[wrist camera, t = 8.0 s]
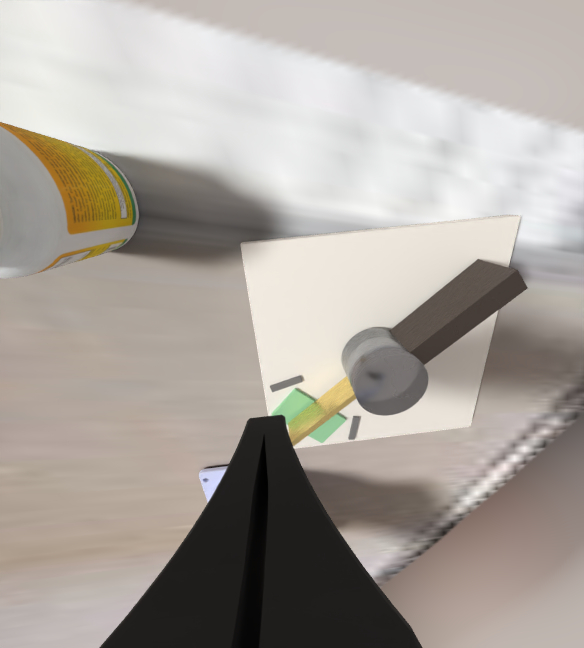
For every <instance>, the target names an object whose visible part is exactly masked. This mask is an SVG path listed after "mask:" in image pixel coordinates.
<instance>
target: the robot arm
mask: <svg viewBox="0 0 584 648" xmlns="http://www.w3.org/2000/svg"><path fill="white" fill-rule="evenodd" d="M199 478H200V481H201V484H202V487H203V490H204V493H205V495H206V498H207V501H208V504H207V505H206V507H205V509H204V510H203V512H202V514H201V515H200V517H199V518H198V520H197V521H196V523H195V525H194V526H193V528H192V529H191V531H190V532H189V534H188V535H187V537H186V538H185V539H184V541H183V542H182V544H181V545H180V547H179V548H178V550H177V551H176V552H175V554H174V555H173V557H172V558H171V559H170V561H169V562H168V564H167V565H166V566H165V568H164V569H163V570H162V572H161V573H160V574H159V575H158V577H157V578H156V579H155V581H154V582H153V583H152V584H151V586H150V587H149V588H148V590H147V591H146V592H145V593H144V595H143V596H142V597H141V599H140V600H139V601H138V602H137V604H136V605H135V606H134V607H133V609H132V610H131V611H130V612H129V614H128V615H127V616H126V617H125V619H124V620H123V621H122V622H121V623H120V624H119V626H118V627H117V628H116V629H115V630H114V631H113V633H112V634H111V635H110V636H109V637H108V638H107V640H106V641H105V642H104V643H103V644H102V645H101V647H100V648H422V646H421V644H420V643H419V641H418V639H417V637H416V635H415V634H414V632H413V630H412V628H411V627H410V625H409V624H408V623H407V621H406V620H405V619H404V618H403V616H402V615H401V614H400V613H399V612H398V610H397V609H396V608H395V607H394V606H393V605H392V603H391V602H390V600H389V599H388V598H387V597H386V595H385V594H384V593H383V592H382V590H381V589H380V588H379V587H378V585H377V584H376V583H375V581H374V580H373V579H372V577H371V576H370V575H369V573H368V572H367V571H366V569H365V568H364V567H363V565H362V564H361V563H360V561H359V560H358V558H357V557H356V555H355V554H354V553H353V551H352V550H351V548H350V547H349V545H348V544H347V543H346V541H345V540H344V538H343V537H342V535H341V534H340V532H339V531H338V529H337V528H336V526H335V525H334V523H333V522H332V520H331V518H330V517H329V515H328V514H327V512H326V510H325V509H324V507H323V505H322V504H321V502H320V500H319V499H318V497H317V495H316V493H315V491H314V490H313V488H312V486H311V484H310V482H309V480H308V478H307V476H306V474H305V472H304V470H303V468H302V466H301V464H300V462H299V459H298V457H297V455H296V452H295V450H294V448H293V445H292V442H291V439H290V436H289V433H288V430H287V426H286V419H285V416H283V415H274V416H266V417H258V418H250V419H249V420H248V421H247V424H246V427H245V429H244V432H243V434H242V437H241V439H240V442H239V444H238V446H237V449H236V451H235V453H234V455H233V457H232V459H231V461H230V463H229V465H228V466H224V467H216V468H208V469H203V470H201V471H200V473H199Z"/></svg>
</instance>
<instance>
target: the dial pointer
mask: <svg viewBox="0 0 584 648" xmlns="http://www.w3.org/2000/svg"><path fill="white" fill-rule="evenodd" d="M526 289H527V286H526V284H525V283H524V281H523V279H522V277H521V276H520V274H519V272H518V271H517V270H515V269H512V268H508V267H505V266H501V265H497V264H494V263H490V262H487V261H483V260H479V259H477V260H476V261H475V262H474V263H472V264H471V265H470V266H469V267H467V268H466V269H465V270H464V271H463V272H461V273H460V274H459V275H458V276H456V277H455V278H454V279H453V280H451V281H450V282H449V283H448V284H446V285H445V286H444V287H443V288H442V289H440V290H439V291H438V292H437V293H435V294H434V295H433V296H432V297H430V298H429V299H428V300H427V301H425V302H424V303H423V304H422V305H421V306H419V307H418V308H417V309H416V310H414V311H413V312H412V313H411V314H409V315H408V316H407V317H406V318H405V319H403V320H402V321H401V322H400V323H398V324H397V325H396V326H395V327H393V328H392V329H391V330H390V331H389V330H387V329H383V328H370V329H366V330H363V331H361V332H359V333H357V334H356V335H354V336H353V337H352V338H351V339H350V340H349V341H348V342H347V343H346V345H345V347H344V349H343V351H342V356H341V362H342V366H343V369H344V371H345V373H346V375H347V376H346V377H345V378H344V379H342V380H341V381H340V382H339V383H337V384H336V385H335V386H334V387H332V388H331V389H330V390H329V391H327V392H326V393H325V394H324V395H322V396H321V397H320V398H319V399H317V400H316V401H315V402H314V403H312V404H311V405H310V406H309V407H307V408H306V409H305V410H303V411H302V412H301V413H300V414H298V415H297V416H296V417H295V418H293V419H292V420H291V421H290V422H288V428H289V436H290V439H291V442H292V445H293V446H295V445H296V444H297V443H299V442H300V441H301V440H303V439H304V438H305V437H307V436H308V435H309V434H311V433H312V432H313V431H314V430H316V429H317V428H318V427H320V426H321V425H322V424H324V423H325V422H326V421H328V420H329V419H330V418H331V417H333V416H334V415H335V414H337V413H338V412H339V411H341V410H342V409H343V408H345V407H346V406H347V405H348V404H350V403H351V402H352V401H354V400H355V399H356V398H357V401H358V403H359V404H360V406H361V407H362V408H363V409H365V410H366V411H368V412H370V413H372V414H375V415H381V416H388V415H394V414H398V413H401V412H404V411H406V410H408V409H409V408H411V407H412V406H414V405H415V404H416V403H417V402H418V401H419V400H420V399H421V398H422V396H423V395H424V393H425V391H426V389H427V386H428V380H429V377H428V372H427V370H426V368H425V366H424V365H425V364H426V363H428V362H429V361H430V360H432V359H433V358H434V357H436V356H437V355H439V354H440V353H441V352H443V351H444V350H445V349H447V348H448V347H449V346H451V345H452V344H453V343H455V342H456V341H457V340H459V339H460V338H461V337H463V336H464V335H465V334H467V333H468V332H469V331H471V330H472V329H473V328H475V327H476V326H477V325H479V324H480V323H481V322H483V321H484V320H486V319H487V318H488V317H490V316H491V315H492V314H494V313H495V312H496V311H498V310H499V309H500V308H502V307H503V306H504V305H506V304H507V303H508V302H510V301H511V300H512V299H514V298H515V297H516V296H518V295H519V294H520V293H522V292H523V291H524V290H526Z"/></svg>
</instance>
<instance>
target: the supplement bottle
mask: <svg viewBox="0 0 584 648" xmlns="http://www.w3.org/2000/svg"><path fill="white" fill-rule="evenodd" d="M138 219H139V211H138V204H137V200H136V197H135V194H134V191H133V189H132V187H131V185H130V183H129V181H128V180H127V178H126V177H125V175H124V174H123V173H122V172H121V170H120V169H119V168H118V167H117V166H116V165H114V164H113V163H112V162H111V161H110V160H108V159H107V158H105V157H104V156H102V155H100V154H99V153H97V152H95V151H92V150H90V149H87V148H84V147H81V146H77V145H74V144H71V143H68V142H65V141H61V140H58V139H55V138H51V137H48V136H45V135H41V134H38V133H35V132H31V131H28V130H25V129H22V128H18V127H15V126H12V125H8V124H5V123H2V122H0V278H17V277H24V276H28V275H32V274H36V273H39V272H43V271H46V270H49V269H53V268H56V267H60V266H63V265H67V264H70V263H73V262H77V261H80V260H84V259H87V258H90V257H94V256H98V255H101V254H104V253H107V252H110V251H113V250H116V249H118V248H120V247H122V246H123V245H125V244H126V243H127V242H128V241H129V240H130V239H131V237H132V236H133V235H134V233H135V231H136V228H137V225H138Z"/></svg>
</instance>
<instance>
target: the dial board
mask: <svg viewBox="0 0 584 648" xmlns="http://www.w3.org/2000/svg"><path fill="white" fill-rule="evenodd" d="M520 218H521V216H518V215H502V216H493V217H483V218H473V219H463V220H454V221H444V222H434V223H425V224H415V225H405V226H395V227H386V228H376V229H366V230H356V231H347V232H337V233H327V234H318V235H308V236H298V237H288V238H279V239H269V240H259V241H250V242H242V243H241V244H240V246H241V252H242V258H243V264H244V270H245V276H246V282H247V288H248V295H249V301H250V307H251V313H252V319H253V325H254V331H255V337H256V344H257V350H258V356H259V362H260V368H261V374H262V380H263V386H264V392H265V399H266V405H267V411H268V416H274V415H283V416H285V419H286V426H287V430H288V433H289V428H288V422H290V421H291V420H292V419H293V418H295V417H296V416H297V415H298V414H300V413H301V412H302V411H303V410H305V409H306V408H307V407H309V406H310V405H311V404H312V403H314V402H315V401H316V400H317V399H319V398H320V397H321V396H322V395H324V394H325V393H326V392H327V391H329V390H330V389H331V388H332V387H334V386H335V385H336V384H337V383H339V382H340V381H341V380H342V379H344V378H345V377H346V376H347V375H346V373H345V371H344V369H343V366H342V362H341V356H342V351H343V349H344V347H345V345H346V343H347V342H348V341H349V340H350V339H351V338H352V337H353V336H354V335H356V334H357V333H359V332H361V331H363V330H366V329H370V328H383V329H387V330H389V331H390V330H391V329H392V328H393V327H395V326H396V325H397V324H398V323H400V322H401V321H402V320H403V319H405V318H406V317H407V316H408V315H409V314H411V313H412V312H413V311H414V310H416V309H417V308H418V307H419V306H421V305H422V304H423V303H424V302H425V301H427V300H428V299H429V298H430V297H432V296H433V295H434V294H435V293H437V292H438V291H439V290H440V289H442V288H443V287H444V286H445V285H446V284H448V283H449V282H450V281H451V280H453V279H454V278H455V277H456V276H458V275H459V274H460V273H461V272H463V271H464V270H465V269H466V268H467V267H469V266H470V265H471V264H472V263H474V262H475V261H476V260H477V259H479V260H483V261H487V262H490V263H494V264H497V265H501V266H505V267H508V268H509V263H510V259H511V255H512V251H513V247H514V243H515V238H516V234H517V230H518V226H519V222H520ZM497 313H498V311H496V312H495V313H494V314H492V315H491V316H490V317H488V318H487V319H486V320H484V321H483V322H481V323H480V324H479V325H477V326H476V327H475V328H473V329H472V330H471V331H469V332H468V333H467V334H465V335H464V336H463V337H461V338H460V339H459V340H457V341H456V342H455V343H453V344H452V345H451V346H449V347H448V348H447V349H445V350H444V351H443V352H441V353H440V354H439V355H437V356H436V357H434V358H433V359H432V360H430V361H429V362H428V363H426V364H425V365H424V366H425V368H426V370H427V372H428V377H429V380H428V386H427V389H426V391H425V393H424V395H423V396H422V398H421V399H420V400H419V401H418V402H417V403H416V404H415V405H414V406H412V407H411V408H409V409H408V410H406V411H404V412H401V413H398V414H394V415H388V416H381V415H375V414H372V413H370V412H368V411H366V410H365V409H363V408H362V407H361V406H360V404H359V403H358V401H357V398H356V399H355V400H354V401H352V402H351V403H350V404H348V405H347V406H346V407H345V408H343V409H342V410H341V411H339V412H338V413H337V414H335V415H334V416H333V417H331V418H330V419H329V420H328V421H326V422H325V423H324V424H322V425H321V426H320V427H318V428H317V429H316V430H314V431H313V432H312V433H311V434H309V435H308V436H307V437H305V438H304V439H303V440H301V441H300V442H299V443H297V444H296V445H295V446H293V448H294V449H295V448H303V447H311V446H319V445H327V444H335V443H343V442H351V441H359V440H367V439H375V438H383V437H391V436H399V435H407V434H415V433H423V432H431V431H439V430H447V429H455V428H463V427H470V426H471V422H472V417H473V413H474V409H475V405H476V401H477V397H478V392H479V388H480V384H481V380H482V376H483V372H484V367H485V363H486V359H487V355H488V351H489V347H490V343H491V338H492V334H493V330H494V326H495V322H496V318H497Z"/></svg>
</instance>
